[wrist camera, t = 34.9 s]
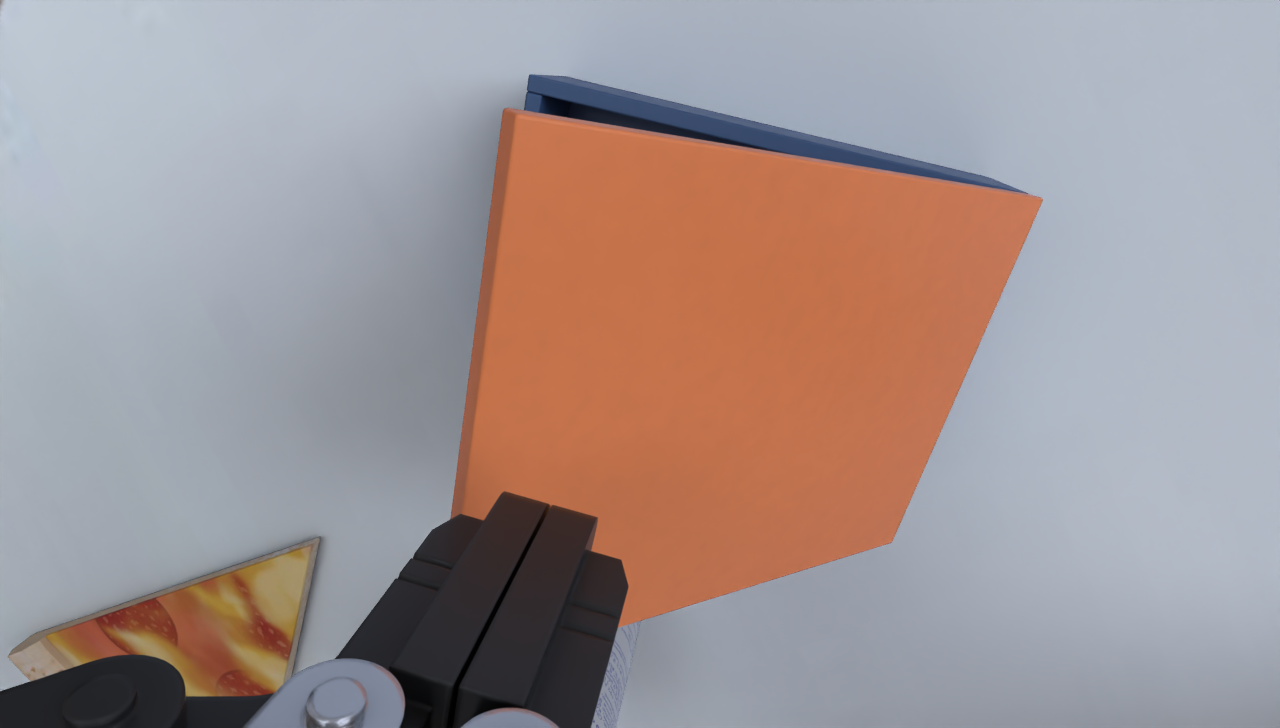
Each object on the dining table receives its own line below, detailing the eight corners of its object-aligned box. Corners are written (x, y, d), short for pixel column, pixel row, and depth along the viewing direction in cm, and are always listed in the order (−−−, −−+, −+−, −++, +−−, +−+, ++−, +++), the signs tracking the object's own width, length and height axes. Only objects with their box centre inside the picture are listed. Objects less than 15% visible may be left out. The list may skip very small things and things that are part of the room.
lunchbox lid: (430, 664, 16) (438, 685, 15) (501, 106, 11) (516, 113, 10) (878, 532, 24) (892, 543, 24) (1024, 193, 20) (1044, 198, 19)
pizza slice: (474, 763, 38) (459, 797, 37) (189, 820, 45) (165, 851, 43) (322, 534, 34) (297, 559, 32) (32, 633, 41) (-3, 659, 39)
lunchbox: (516, 378, 29) (480, 419, 26) (564, 76, 25) (528, 73, 21) (868, 474, 28) (883, 532, 25) (989, 177, 24) (1030, 193, 20)
